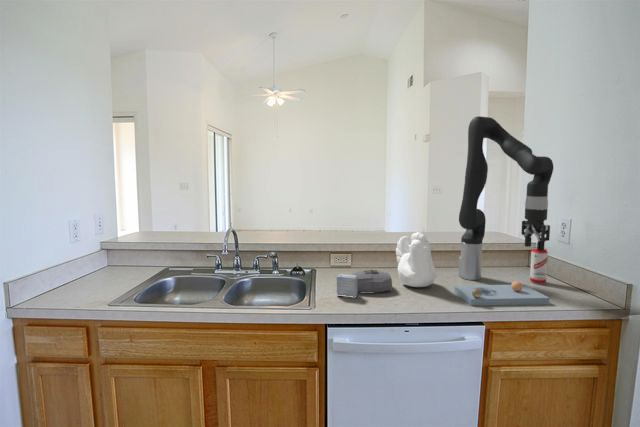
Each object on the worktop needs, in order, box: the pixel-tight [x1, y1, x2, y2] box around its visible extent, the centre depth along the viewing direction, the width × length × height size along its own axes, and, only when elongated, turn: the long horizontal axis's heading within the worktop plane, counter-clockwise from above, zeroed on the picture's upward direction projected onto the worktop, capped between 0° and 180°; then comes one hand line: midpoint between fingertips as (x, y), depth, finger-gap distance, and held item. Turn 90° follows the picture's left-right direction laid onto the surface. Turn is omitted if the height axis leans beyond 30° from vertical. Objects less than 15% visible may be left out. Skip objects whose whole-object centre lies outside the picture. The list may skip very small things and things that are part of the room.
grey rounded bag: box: [350, 269, 393, 293], centre depth 151 cm, size 15×8×20 cm
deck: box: [453, 283, 550, 306], centre depth 138 cm, size 30×16×2 cm, turn 90°
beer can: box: [529, 246, 549, 285], centre depth 155 cm, size 6×6×16 cm
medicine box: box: [336, 273, 358, 297], centre depth 142 cm, size 8×4×9 cm, turn 71°
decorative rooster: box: [395, 231, 438, 288], centre depth 157 cm, size 25×16×25 cm, turn 6°
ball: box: [510, 280, 522, 291], centre depth 138 cm, size 4×4×4 cm
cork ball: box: [472, 289, 482, 298], centre depth 131 cm, size 4×4×4 cm
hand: (533, 248), depth 136 cm, fingers open, 7 cm apart
